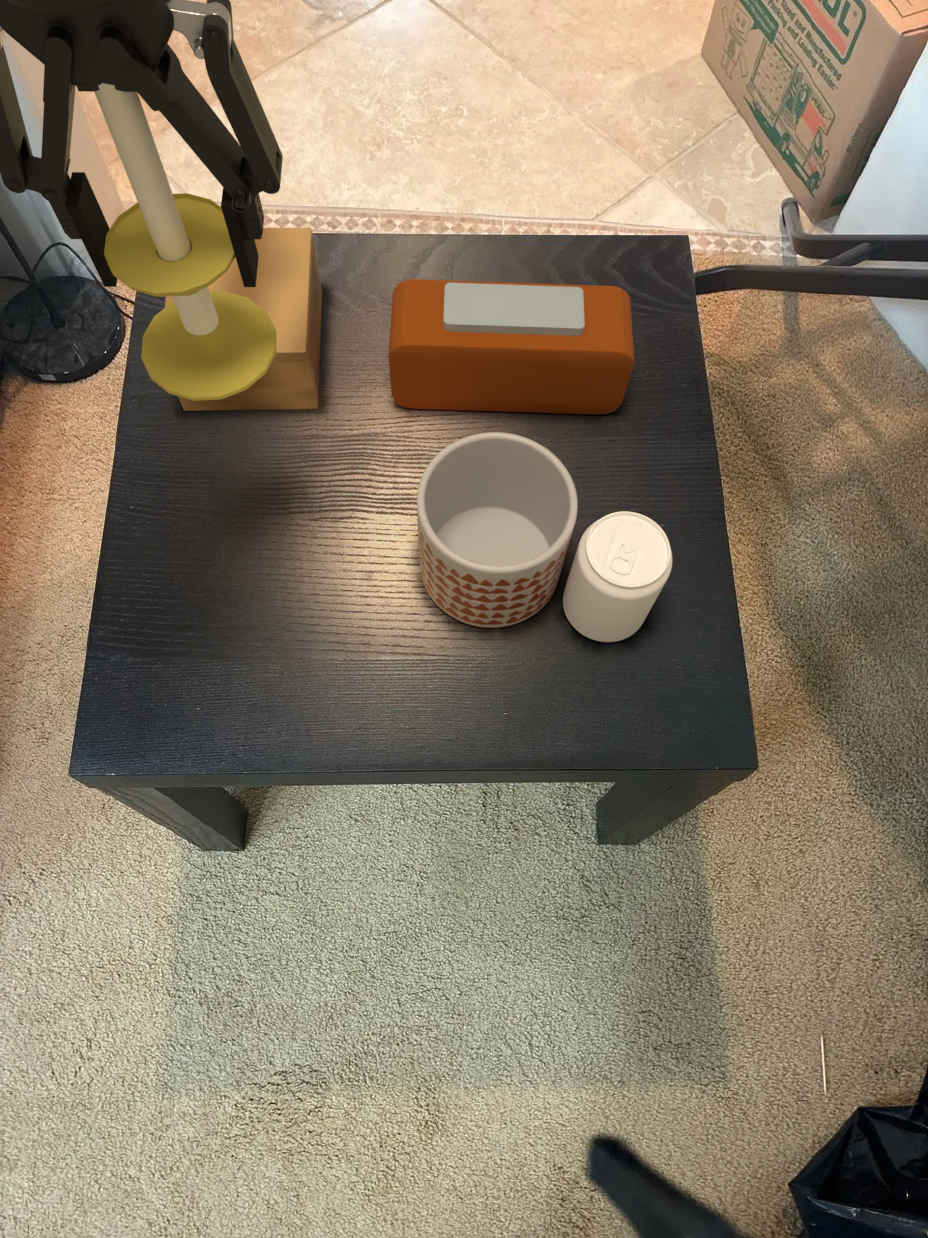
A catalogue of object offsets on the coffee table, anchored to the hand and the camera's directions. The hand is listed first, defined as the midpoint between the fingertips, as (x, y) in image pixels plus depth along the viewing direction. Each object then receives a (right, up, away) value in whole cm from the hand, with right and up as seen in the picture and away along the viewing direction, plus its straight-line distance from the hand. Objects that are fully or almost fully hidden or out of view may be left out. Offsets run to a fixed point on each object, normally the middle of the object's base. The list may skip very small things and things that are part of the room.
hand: (182, 270), depth 58 cm
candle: (0, -3, +7) cm, 8 cm away
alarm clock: (+23, +2, +36) cm, 43 cm away
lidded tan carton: (-4, +6, +37) cm, 37 cm away
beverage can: (+32, -22, +26) cm, 47 cm away
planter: (+21, -18, +28) cm, 39 cm away
